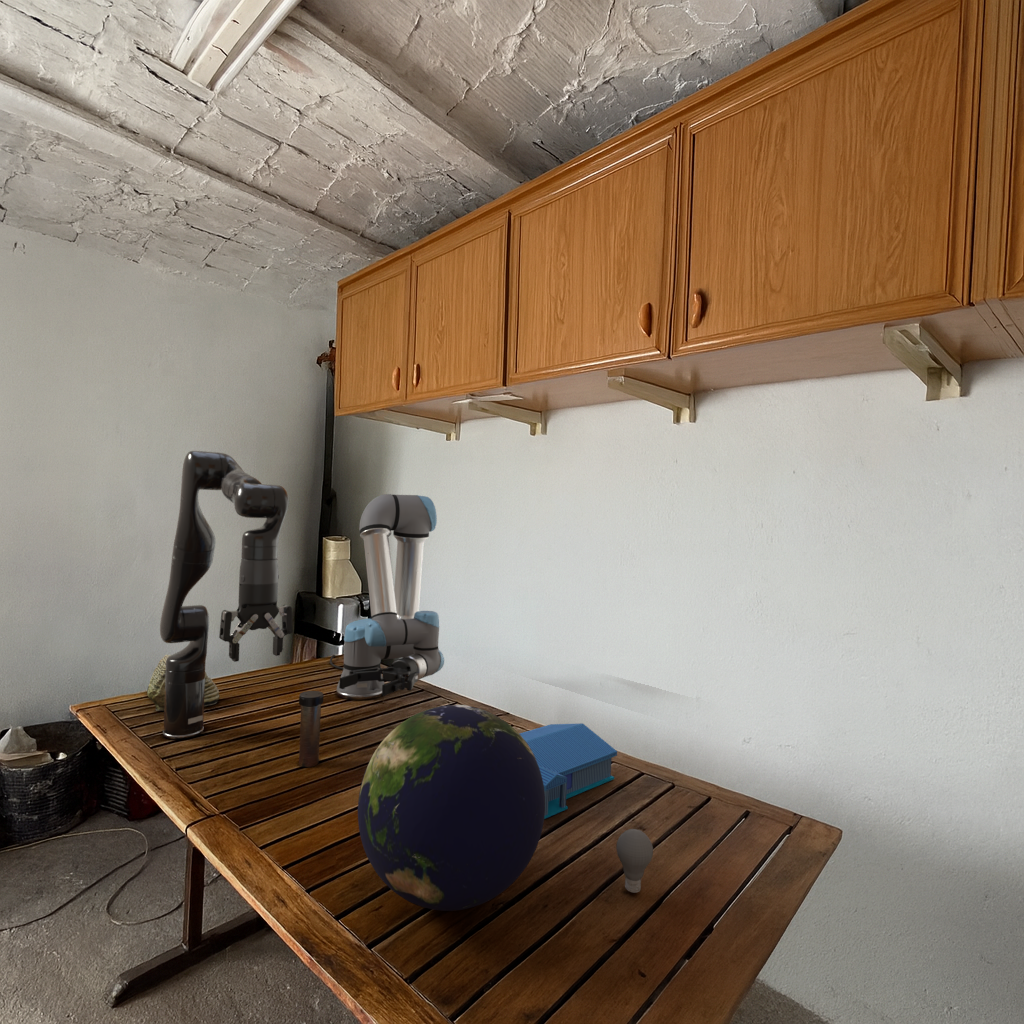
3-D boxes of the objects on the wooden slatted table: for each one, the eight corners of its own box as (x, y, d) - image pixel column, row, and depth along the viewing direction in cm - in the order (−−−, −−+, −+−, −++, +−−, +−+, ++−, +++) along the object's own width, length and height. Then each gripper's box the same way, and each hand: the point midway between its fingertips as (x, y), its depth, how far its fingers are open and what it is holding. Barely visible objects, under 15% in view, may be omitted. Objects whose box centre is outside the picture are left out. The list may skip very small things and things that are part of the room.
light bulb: (610, 879, 108) (613, 822, 108) (644, 879, 109) (647, 822, 109) (619, 902, 102) (622, 840, 102) (655, 901, 103) (658, 840, 103)
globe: (313, 921, 95) (320, 722, 94) (416, 828, 122) (422, 674, 122) (496, 988, 83) (506, 762, 83) (564, 869, 111) (572, 699, 110)
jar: (303, 768, 147) (306, 700, 147) (295, 762, 150) (298, 695, 150) (321, 764, 150) (324, 696, 150) (314, 757, 153) (316, 692, 153)
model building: (497, 839, 120) (500, 786, 120) (424, 791, 138) (425, 745, 138) (625, 783, 146) (627, 740, 146) (549, 749, 164) (551, 711, 164)
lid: (304, 708, 146) (304, 699, 146) (295, 701, 150) (295, 693, 150) (327, 704, 150) (327, 695, 149) (317, 697, 154) (317, 689, 154)
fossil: (144, 707, 182) (145, 655, 182) (212, 696, 194) (213, 647, 194) (151, 716, 175) (153, 662, 175) (221, 703, 188) (223, 653, 188)
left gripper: (284, 576, 139) (281, 649, 139) (216, 579, 129) (213, 658, 130) (299, 580, 134) (296, 656, 134) (230, 584, 124) (227, 667, 124)
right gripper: (444, 688, 178) (401, 708, 159) (371, 677, 188) (323, 694, 169) (445, 662, 178) (402, 678, 159) (372, 652, 188) (324, 666, 169)
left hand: (256, 657), depth 132 cm, fingers open, 8 cm apart
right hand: (361, 686), depth 164 cm, fingers open, 13 cm apart
